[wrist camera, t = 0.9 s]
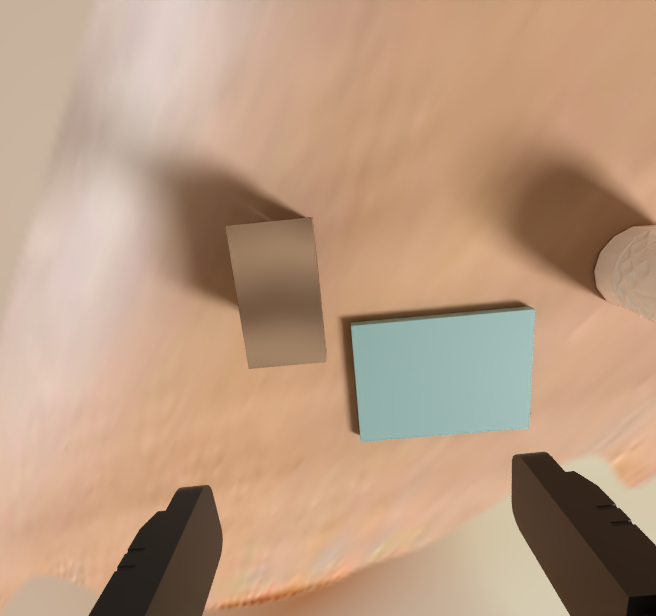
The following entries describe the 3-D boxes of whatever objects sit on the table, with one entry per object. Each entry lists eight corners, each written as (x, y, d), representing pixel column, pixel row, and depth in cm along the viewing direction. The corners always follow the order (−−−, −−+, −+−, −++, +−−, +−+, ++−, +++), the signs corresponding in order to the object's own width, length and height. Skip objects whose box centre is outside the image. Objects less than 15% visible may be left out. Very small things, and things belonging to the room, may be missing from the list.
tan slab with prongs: (253, 222, 29) (225, 226, 21) (315, 216, 29) (310, 217, 21) (268, 329, 31) (248, 368, 23) (326, 324, 31) (326, 361, 23)
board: (350, 322, 31) (351, 326, 30) (528, 306, 30) (535, 309, 29) (360, 435, 34) (360, 442, 33) (523, 421, 33) (529, 428, 32)
